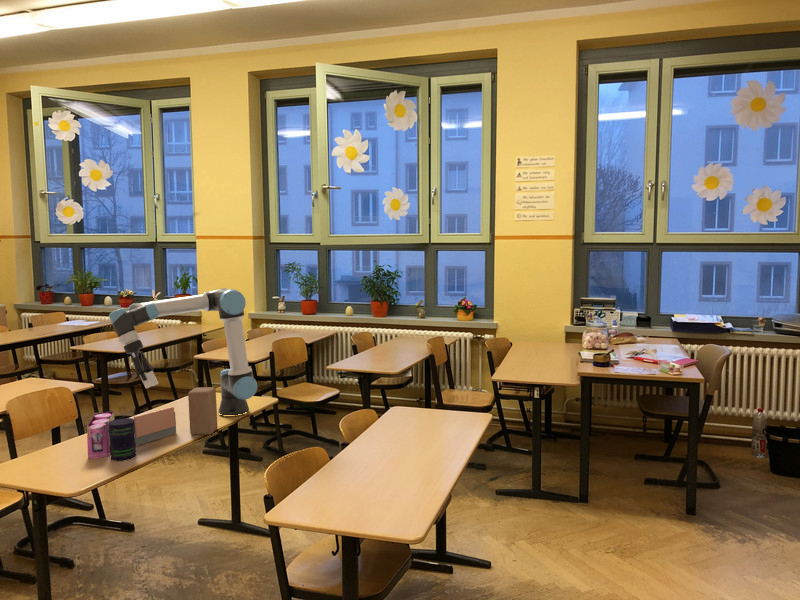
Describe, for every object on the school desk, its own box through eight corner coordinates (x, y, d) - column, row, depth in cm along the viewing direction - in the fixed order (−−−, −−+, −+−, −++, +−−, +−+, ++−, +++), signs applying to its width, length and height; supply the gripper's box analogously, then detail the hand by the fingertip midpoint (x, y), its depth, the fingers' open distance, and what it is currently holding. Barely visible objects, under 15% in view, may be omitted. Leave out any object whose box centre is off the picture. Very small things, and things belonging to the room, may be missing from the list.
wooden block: (211, 435, 280) (209, 391, 278) (189, 435, 280) (187, 392, 278) (218, 428, 290) (216, 386, 288) (197, 428, 290) (195, 387, 288)
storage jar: (113, 463, 245) (111, 426, 244) (107, 457, 253) (104, 421, 251) (139, 457, 252) (137, 421, 250) (132, 451, 259) (130, 416, 258)
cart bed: (164, 430, 288) (163, 409, 287) (176, 433, 283) (175, 412, 282) (119, 443, 270) (118, 421, 269) (131, 447, 265) (130, 424, 264)
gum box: (108, 458, 252) (106, 425, 251) (87, 460, 249) (84, 427, 248) (116, 440, 275) (114, 410, 273) (96, 442, 272) (94, 412, 271)
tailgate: (173, 425, 281) (172, 406, 281) (174, 426, 281) (173, 406, 280) (134, 437, 266) (133, 416, 265) (136, 437, 265) (135, 417, 264)
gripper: (130, 346, 283) (150, 387, 283) (115, 346, 258) (137, 392, 259) (145, 338, 284) (166, 380, 285) (132, 338, 260) (154, 384, 260)
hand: (152, 386), depth 272 cm, fingers open, 13 cm apart
